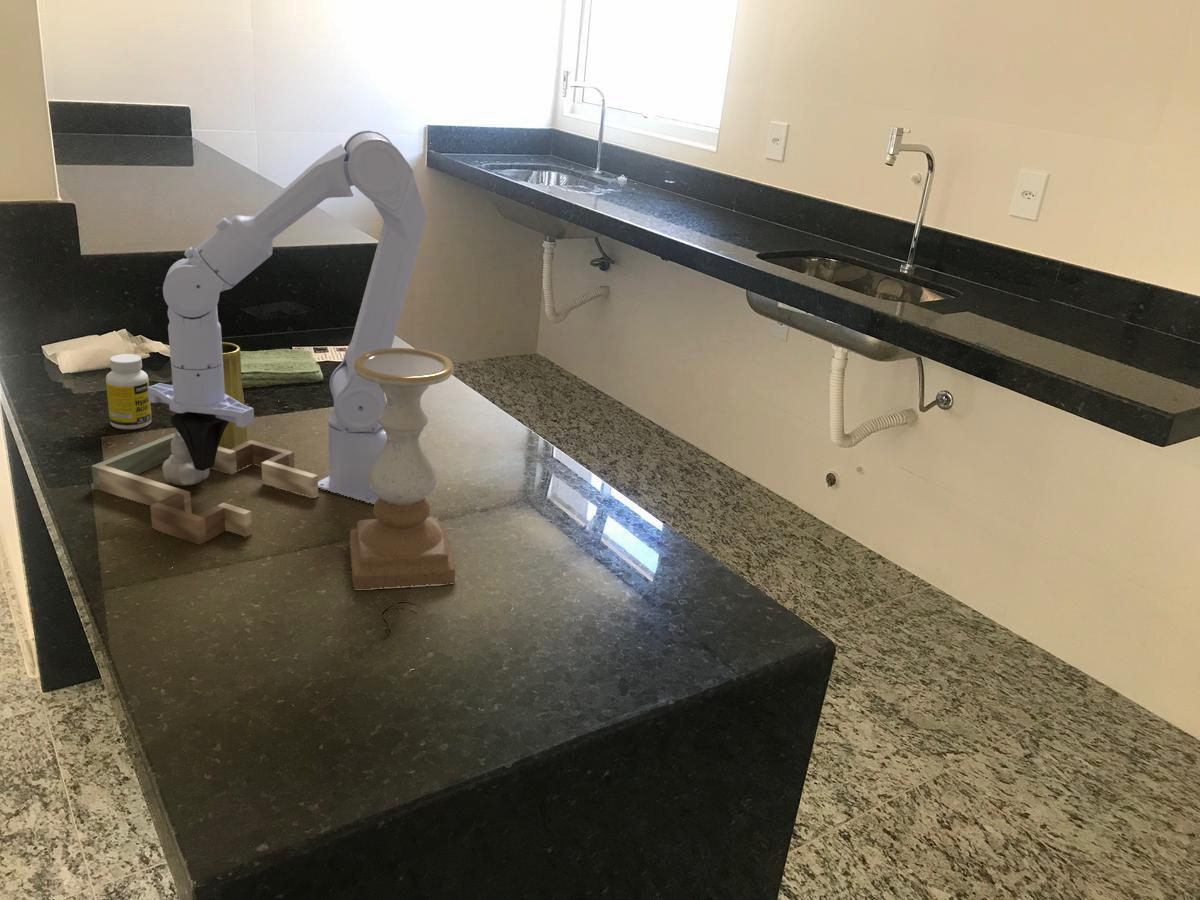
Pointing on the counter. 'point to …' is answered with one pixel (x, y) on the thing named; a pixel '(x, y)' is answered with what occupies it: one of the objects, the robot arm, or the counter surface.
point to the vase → (232, 394)
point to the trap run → (175, 503)
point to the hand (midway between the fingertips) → (204, 467)
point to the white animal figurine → (181, 465)
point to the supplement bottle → (128, 393)
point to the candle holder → (401, 479)
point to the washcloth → (278, 367)
